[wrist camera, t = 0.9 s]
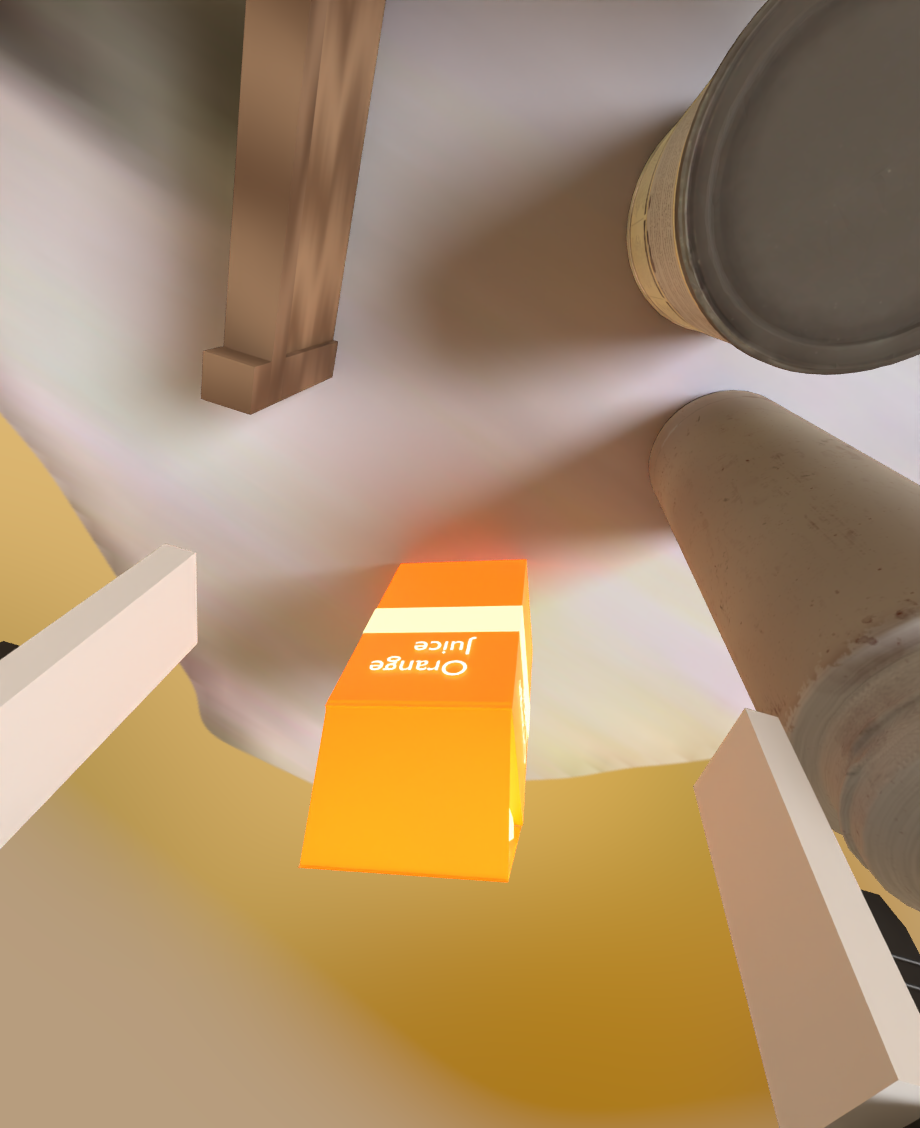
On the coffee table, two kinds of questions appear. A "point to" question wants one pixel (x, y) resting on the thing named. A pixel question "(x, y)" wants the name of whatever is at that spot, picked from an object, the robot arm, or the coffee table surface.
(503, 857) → the orange juice
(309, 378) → the gate
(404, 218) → the coffee table surface
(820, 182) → the coffee can
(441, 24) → the coffee table surface
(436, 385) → the coffee table surface
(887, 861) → the thermos bottle
